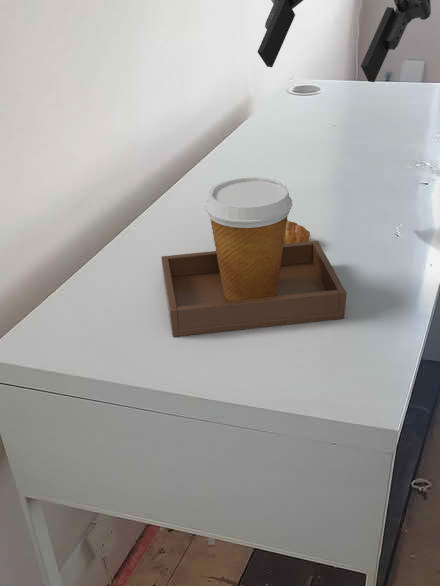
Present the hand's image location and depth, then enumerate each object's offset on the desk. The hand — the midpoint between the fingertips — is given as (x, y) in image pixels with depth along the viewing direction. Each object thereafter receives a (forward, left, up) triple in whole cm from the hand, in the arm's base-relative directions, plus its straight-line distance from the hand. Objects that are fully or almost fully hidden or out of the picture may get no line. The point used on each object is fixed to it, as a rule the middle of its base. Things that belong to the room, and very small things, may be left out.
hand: (313, 67), depth 80 cm
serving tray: (+10, +11, -22) cm, 26 cm away
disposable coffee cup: (+9, +11, -21) cm, 26 cm away
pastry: (+5, -3, -22) cm, 23 cm away
